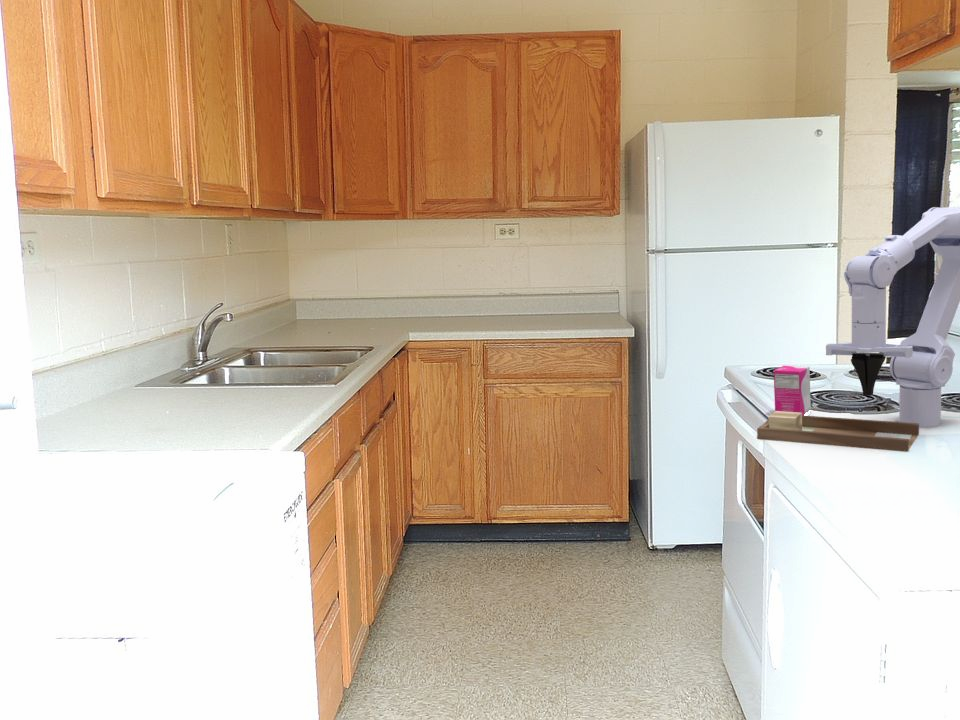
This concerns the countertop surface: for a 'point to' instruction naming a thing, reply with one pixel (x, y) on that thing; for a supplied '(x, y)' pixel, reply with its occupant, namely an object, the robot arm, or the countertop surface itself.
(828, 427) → the compartment tray
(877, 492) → the countertop surface
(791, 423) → the birch block
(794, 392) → the supplement box
